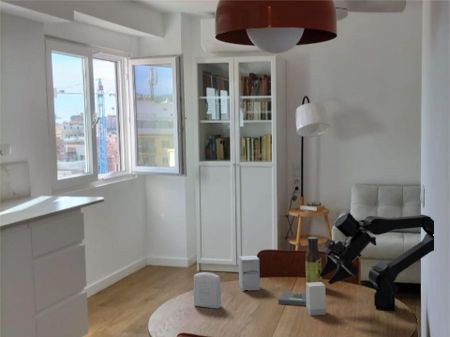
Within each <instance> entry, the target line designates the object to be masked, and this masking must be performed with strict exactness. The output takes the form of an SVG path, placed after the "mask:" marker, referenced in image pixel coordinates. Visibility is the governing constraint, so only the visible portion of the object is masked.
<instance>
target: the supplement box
mask: <svg viewBox="0 0 450 337" xmlns="http://www.w3.org/2000/svg"><path fill="white" fill-rule="evenodd" d="M260 280H261V278H260V258H259V257H258V256H257V255H239V256H238V282H239V283H238V285H239V288H240V290H241V292H244V291H245V290H248V291H260V290H261V281H260Z"/></svg>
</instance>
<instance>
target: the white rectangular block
mask: <svg viewBox="0 0 450 337" xmlns="http://www.w3.org/2000/svg"><path fill="white" fill-rule="evenodd" d="M305 293H306V308H305V309H306V310H305V311H306V313H307V314H308V315H309V316H321V315H322V316H323V315H326V314H327V308H326V307H327V306H326V303H327V302H326V285H325V284H324V283H323V281H322V282H312V283H306V282H305Z"/></svg>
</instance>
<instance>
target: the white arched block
mask: <svg viewBox="0 0 450 337" xmlns="http://www.w3.org/2000/svg"><path fill="white" fill-rule="evenodd" d="M221 281H222V280H221V277H220V275H218V274H215V273H213V272H208V271H207V272H206V271H205V272H203V271H202V272H198V273H196V274H195V273H194V275H193V305H194V306H195V307H202V308H211V309H220V308H221V307H222V292H221V291H222V290H221V289H222V287H221V283H222V282H221Z"/></svg>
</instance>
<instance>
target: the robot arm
mask: <svg viewBox="0 0 450 337" xmlns="http://www.w3.org/2000/svg"><path fill="white" fill-rule="evenodd" d="M434 221H435V220H434V219H433V218H432V217H431V216H429V215H425V214H419V215H410V216H397V217H382V216H377V215H368V216H366V217H365V219H360V220H357V219H356V218H355V217H354V216H353V214H352V213H351V212H348V211H347V212H346V213H345V214H343V215H341V216H340V217H338V218H337V219H336V221H334V225H333V226H334V227H335V228H336V229H337V230H338V231H339V233H341V234H342V235H343V236H344V237H345V238H350V239H348V241H340V240H339V239H337V240H333V239H331V238H329V237H328V238H327V240H326V241H325V244H324V247H325V248H326V250H325V251H324V253H325V254H324V257H325V262H324V265H323V267H322V271H321V273H320V276H321V277H322V278H323V277H325V276H327V275H328V274H330V273H331V272H333V271H334V273H333V274H332V276H331V277H330V279H329V280H328V281H327V282H328V284H329V285H333V284H336V283H337V282H340V281H342V280H345V279H348V278H352V277H353V276H354V277H356V276H357V275H358V274H359V272H360V271H359V267H357V266H356V264H355V263H353V262H354V261H355V260H356V259H357V258H361V257H362V254H361V253H362V252H363V251H364V250H365V249H366V248H367V247H368V246H369V244H371V245H372V246H377V237H375V236H379V235H385V234H387V233H389V232H391V231H394V230H406V229H416V228H417V229H418V228H419V229H420V228H422V230H423V231H424V232H425V235H424V237H423V239H422V240H421V241H419V243H417V244H415V245H414V246H412V247H411V248H409V249H408V250H407V251H405V252H403V253H402V254H400V255H399V256H398V257H396V258H395V259H393V260H391V261H390V262H387V263H386V262H383V261H379V262H378V263H377V264H376V265H372V266H371V269H370V270H369V272H368V280H369V281H370V283H371V284H372V285H373V287H374V288H375V292H374V293H373V296H374V297H373V299H374V300H373V303H374V304H373V305H374V307H375V310H379V311H381V310H384V311H385V310H386V311H396V310H397V309H396V294H397V293H398V290H399V286H398V285H397V283H395V281H396V280H397V278H398V276H399V275H400V274H401V273H402V272H403V271H405V270H406V269H408V268H409V267H411V266H413V265H414V264H415V263H417V262H418V261H420V260H421V259H423V258H424V257H426V256H427V255H429V254H430V253H432V252H434V236H433V234H434ZM361 229H362V230H361ZM363 230H364V231H363ZM369 233H370V234H372V235H373V236H372V235H370V234H369ZM374 235H375V236H374Z"/></svg>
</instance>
